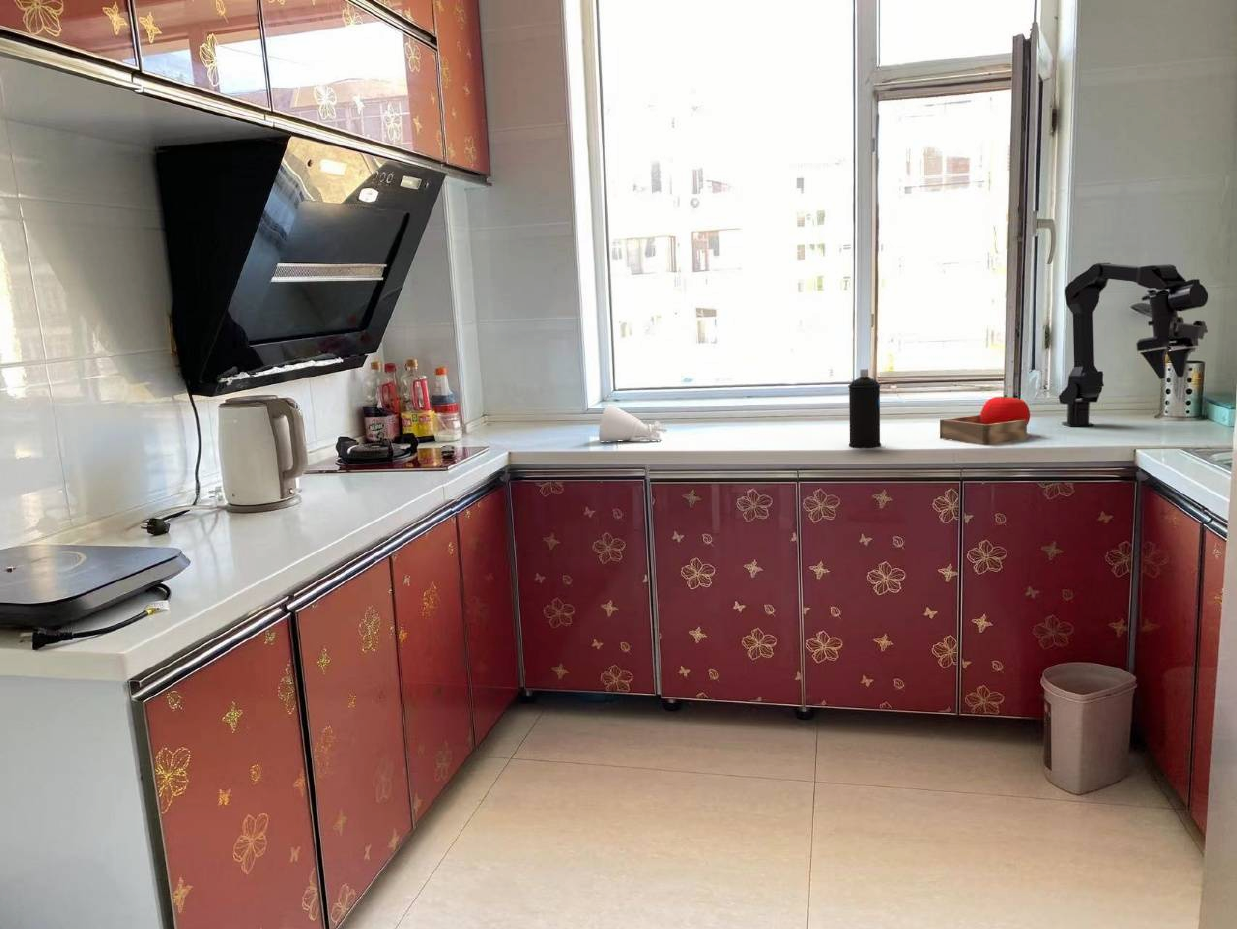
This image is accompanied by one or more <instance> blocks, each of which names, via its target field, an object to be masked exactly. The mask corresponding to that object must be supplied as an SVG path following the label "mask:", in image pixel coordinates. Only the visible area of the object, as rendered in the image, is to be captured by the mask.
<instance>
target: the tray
mask: <svg viewBox="0 0 1237 929" xmlns="http://www.w3.org/2000/svg"><path fill="white" fill-rule="evenodd" d="M1027 429H1028V425H1027V420H1017V421H1009V422H1001V423H994V424H982V422H981V419H980V414H975V415H967V416H966V415H965V416H960V417H958V416H957V417H951V418H944V419H940V420H939V439H942V438H945V439H944V440H949V439H952V440H951V441H956V440H957V442H963V441H964V442H965V443H969V442H970V443H971V444H979V445H984V446H987V445H993V444H995V445H996V444H1000V443H1001V444H1003V443H1008V442H1015V441H1021V440H1022V439H1023V440H1027V439H1028V436H1027V433H1028V432H1027V431H1028V430H1027ZM1023 440H1022V441H1023ZM964 442H963V443H964Z"/></svg>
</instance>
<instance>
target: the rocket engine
mask: <svg viewBox="0 0 1237 929" xmlns="http://www.w3.org/2000/svg"><path fill="white" fill-rule="evenodd" d="M667 430H668V428H666V427H661V426H660V421H659V420H656V421H655V422H654V425H653V424H651V423H648V426H647V425H646V424H645V423H643V422H642V421H641V420H640V418H639V419H638V418H636V417H635V416H633V415H632V414H630V413H629V412H627V411H625V410H623V409H621V408H619V407H618V406H615V405H613V404H611V403H608V404H606V406H605V408H604V410H603V413H602V416H601V420H600V424H599V429H598V431H599V432H598V437H599V442H600V441H618V440H629V441H631V442H640V441H639V440H642V441H648V440H661V441H662V438H661V436H660V435H661V434H660V433H667Z"/></svg>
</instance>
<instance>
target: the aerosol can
mask: <svg viewBox="0 0 1237 929" xmlns="http://www.w3.org/2000/svg"><path fill="white" fill-rule="evenodd" d="M859 375H860V377H859V378H856V379H854V380H852V381H851V383H850V384H849V385H847V387H848V393H849V395H848V396H849V398H848V399H849V402H848V403H849V406H848V407H849V443H848V447H851V448H857V449H858V448H859V449H862V448H863V449H864V448H865V449H867V448H876V447H877V448H878V447H880V446H882V443H881V392H880V390H881V386H882V385H881V384H880V383H879V382H878V380H876V379H874V378H871V377H870V376H869V369H868V368H861V369H860V374H859Z"/></svg>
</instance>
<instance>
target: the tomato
mask: <svg viewBox="0 0 1237 929" xmlns="http://www.w3.org/2000/svg"><path fill="white" fill-rule="evenodd" d="M979 415H980V419H981V422H982V424H994V423H1001V422H1009V421H1017V420H1027V426H1028V425H1029V424H1030V420H1031V410H1030V408H1029V406H1028V404H1027V403H1026V401H1025V400H1022V399H1020V398H1016V397H1012V396H1009V397H1008V395H1006V394H1005V395H1004V396H995V397H991V398H990V399H988V400H987V401H985V403H984V404H983V406H982V408H981V410H980V414H979Z"/></svg>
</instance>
